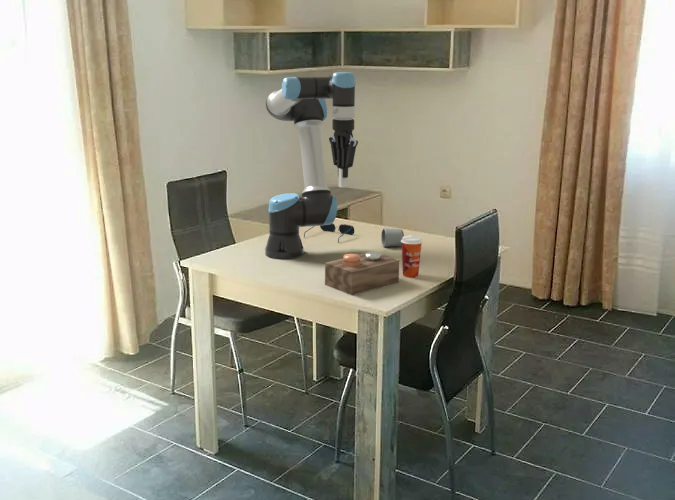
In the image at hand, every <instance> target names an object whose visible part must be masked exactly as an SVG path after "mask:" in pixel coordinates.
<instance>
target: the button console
mask: <svg viewBox="0 0 675 500" xmlns="http://www.w3.org/2000/svg"><path fill="white" fill-rule="evenodd" d="M365 253H366V252H365ZM365 253H360V254H359V255H360V261H361V265H358V266H354V267H349V266H346V265H343V260H344V257H343V258H339V259H336V260H331V261H328V262H326V261H325V263H324V285H325V286H327V287H330V288H332V289H334V290H337V291H340V292H343V293H344V294H347V295H349V296H353V295H356V294H357V295H358V294H361V293H363V292H364V293H365V292H368V291H371V290H375V289H379V288H382V287H383V288H384V287H386V286H391V285H393V284H397V283H399V282H400V260H399V259H396V258H393V257H390V256H387V255H384V254H381V259H382V260H378V261H374V262H372V261H369V260H366V259H364V258H365Z"/></svg>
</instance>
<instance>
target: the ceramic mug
mask: <svg viewBox="0 0 675 500" xmlns="http://www.w3.org/2000/svg"><path fill="white" fill-rule="evenodd" d="M380 236H381V239H380V240H381V245H382V247H383V248H385V247H386V248H388V247H389V248H391V247H392V248H393V247H395V248H396V247H402V242H401V240H402V238H403V237H404V236H405V233H404V231H403V229H401V228H392V227H391V228H390V227H389V228H386V227H384V228H382V229H381V235H380Z"/></svg>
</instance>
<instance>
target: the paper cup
mask: <svg viewBox="0 0 675 500" xmlns="http://www.w3.org/2000/svg"><path fill="white" fill-rule="evenodd" d="M401 242H402V246H401V258H402V259H401V260H402V263H401V264H402V265H401V266H402V275H403V276H402V277H405V278H412V279H413V278H417V277H419V273H420V265H421V264H420V263H421V254H422V253H421V252H422V244H423V239H422V237H420V236H417V235H404V237H403V238H402V240H401Z"/></svg>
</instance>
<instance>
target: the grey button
mask: <svg viewBox="0 0 675 500" xmlns="http://www.w3.org/2000/svg"><path fill="white" fill-rule="evenodd" d="M381 255H382V253H381V252H378V251H367V252H365V258H364V259H366V260H369V261H372V262H374V261H378V260H382V259H381Z"/></svg>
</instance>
